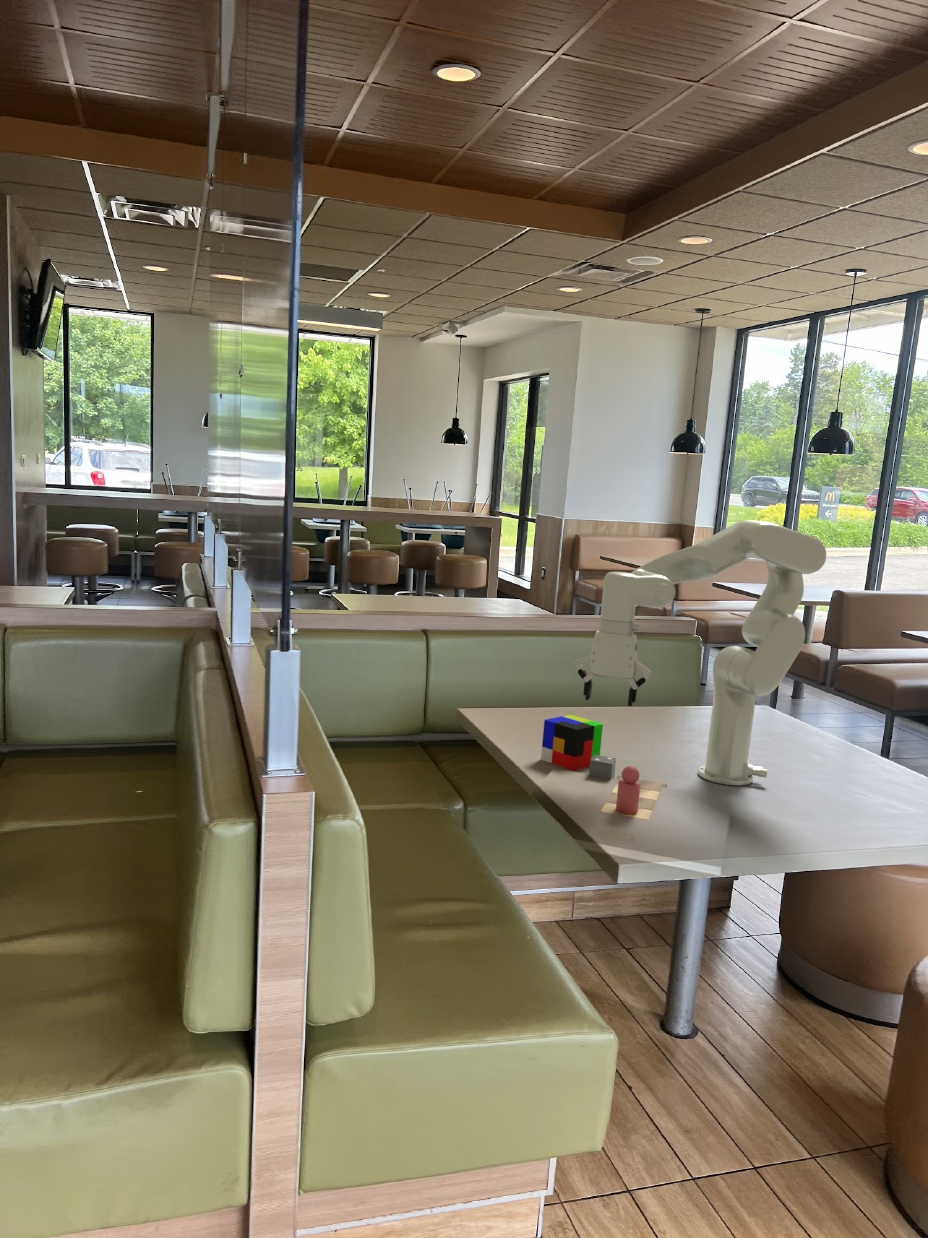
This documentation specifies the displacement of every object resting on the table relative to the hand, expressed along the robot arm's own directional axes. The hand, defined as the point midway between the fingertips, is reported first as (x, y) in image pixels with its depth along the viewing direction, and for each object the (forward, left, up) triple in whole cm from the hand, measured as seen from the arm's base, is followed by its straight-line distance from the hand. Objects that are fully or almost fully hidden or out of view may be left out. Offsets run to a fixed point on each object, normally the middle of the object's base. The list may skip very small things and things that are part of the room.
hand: (609, 702), depth 207 cm
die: (0, 0, -18) cm, 18 cm away
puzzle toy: (+9, -10, -19) cm, 23 cm away
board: (-9, +12, -18) cm, 23 cm away
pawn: (-9, +21, -17) cm, 29 cm away
